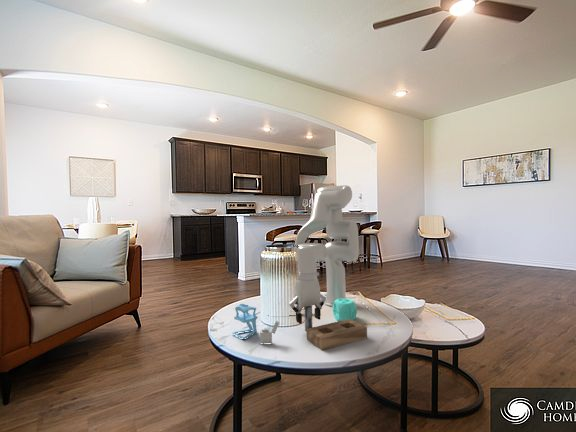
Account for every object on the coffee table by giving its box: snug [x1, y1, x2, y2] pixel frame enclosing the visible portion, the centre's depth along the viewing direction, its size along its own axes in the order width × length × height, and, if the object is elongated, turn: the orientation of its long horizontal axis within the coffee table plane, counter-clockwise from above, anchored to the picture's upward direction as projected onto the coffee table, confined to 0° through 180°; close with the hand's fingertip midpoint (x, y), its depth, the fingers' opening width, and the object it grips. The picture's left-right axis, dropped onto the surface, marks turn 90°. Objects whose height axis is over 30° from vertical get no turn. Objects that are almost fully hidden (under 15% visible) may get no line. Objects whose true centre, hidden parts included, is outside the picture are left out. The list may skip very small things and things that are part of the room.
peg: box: [303, 305, 313, 333], centre depth 119 cm, size 3×3×10 cm
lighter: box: [259, 320, 280, 344], centre depth 108 cm, size 7×2×8 cm, turn 87°
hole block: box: [306, 319, 368, 351], centre depth 111 cm, size 10×20×4 cm, turn 117°
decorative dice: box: [332, 298, 358, 322], centre depth 131 cm, size 8×8×8 cm
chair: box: [231, 303, 258, 339], centre depth 117 cm, size 8×8×12 cm
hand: (308, 320), depth 119 cm, fingers open, 7 cm apart
